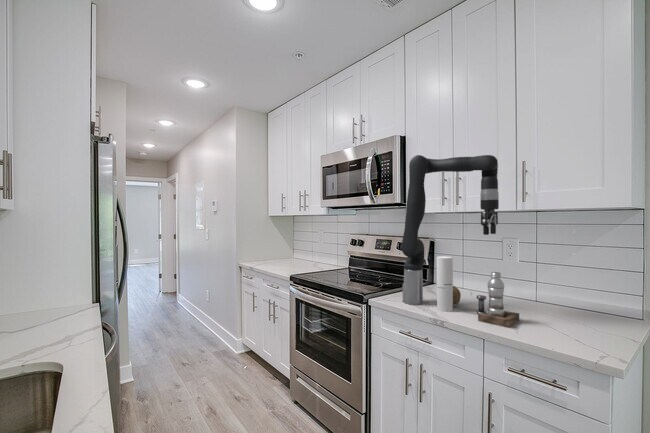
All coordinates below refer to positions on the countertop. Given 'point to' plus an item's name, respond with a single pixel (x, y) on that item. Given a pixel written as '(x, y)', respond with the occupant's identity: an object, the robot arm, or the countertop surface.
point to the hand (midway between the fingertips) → (489, 234)
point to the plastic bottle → (496, 295)
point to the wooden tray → (500, 319)
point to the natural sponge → (456, 295)
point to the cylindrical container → (445, 283)
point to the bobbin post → (481, 304)
